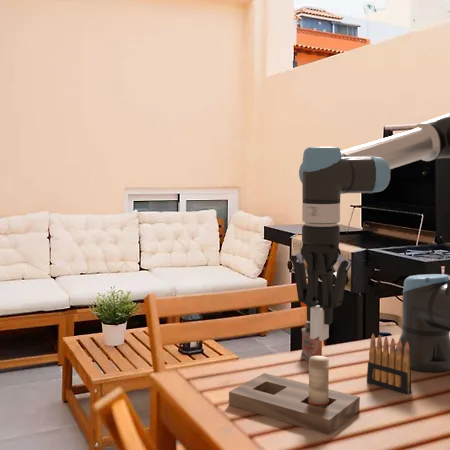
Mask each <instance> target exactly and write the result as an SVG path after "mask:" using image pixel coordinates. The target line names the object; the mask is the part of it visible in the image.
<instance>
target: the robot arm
mask: <svg viewBox="0 0 450 450" xmlns="http://www.w3.org/2000/svg"><path fill="white" fill-rule="evenodd" d="M437 159H450V113H449V112H448V113H446V114H443V115H441V116H438V117H435V118H432V119H429V120H426V121H424V122H420V123H417V124H416V125H414V127H413V128H412V129H411V130H408V131H405V132H402V133H397V134H393V135H391V136H387V137H384V138H380V139H378V140H375V141H371V142H368V143H365V144H360V145H357V146H353V147H350V148H347V149H344V150H341V148H340V147H338V146H311V147H306V149H304V151H303V154H302V163H301V164H300V166H299V171H298V176H299V180H300V182H301V185H302V186H301V187H302V191H301V193H302V194H301V195H302V197H301V198H302V199H301V200H302V204H301V205H302V207H301V210H302V212H301V213H302V214H301V215H302V217H301V221H302V223H304V224H303V225H302V226H301V242H302V247H301V248H300V251H298V252H297V253H296V254H293V255H290V256H289V260H290V262H291V264H292V266H293V271H294V278H295V286H296V293H297V300H298V302H299V303H303V304H304V305H306V321H309V322H310V339H315V338H317V337H319V340H320V341H322V342H324V341H326V340H327V339H329V337H330V334H329V331H330V324H333V320H334V319H333V315H334V311H333V310H334V308H338V307H339V306H342V304H343V300H344V295H345V288H346V283H347V278H348V272H349V270H350V268H351V266H352V265H353V261H352V259H350V258H349V259H348V258H346V257H345V256H343V255H342V251H341V249H340V240H341V239H340V238H341V237H340V236H341V235H340V233H341V231H340V230H341V229H340V228H341V227H340V225H338V224H339V223H340V222H341V196H342V194H374V193H379V192H382V191H384V190H385V189H386V188H387V187H388V186H389V184H390V181H391V170H393V169H395V168H399V167H401V166H404V165H408V164H411V163H413V162H417V161H420V160H421V161H423V162H424V161H425V162H430V161H434V160H437ZM305 263H306V265H307V269H306V268H305ZM335 264H337V267H338V268H337V270H336V275H335V276H336V277H335V281H334V278H333V277H334V276H333V274H334V266H335ZM319 276H321V290H322V306H321V305H319V304H318V303H319V301H318V289H319V288H318V287H319ZM401 319H402V324H401V328H402V330H401V334H400V336H399V338H398V342H399V340H401V343H402V354H403V357H404V348H405V344H406V342H408V344H409V350H410V370H414V371H419V372H427V373H429V372H430V373H431V372H432V373H439V372H440V373H441V372H447V371H450V274H441V273H430V274H427V273H426V274H416V275H409V276H408V277H406V278H405V279H404V281H403V290H402V317H401ZM398 342H397V343H396V346H395V353H396V355H397V346H398Z"/></svg>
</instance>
